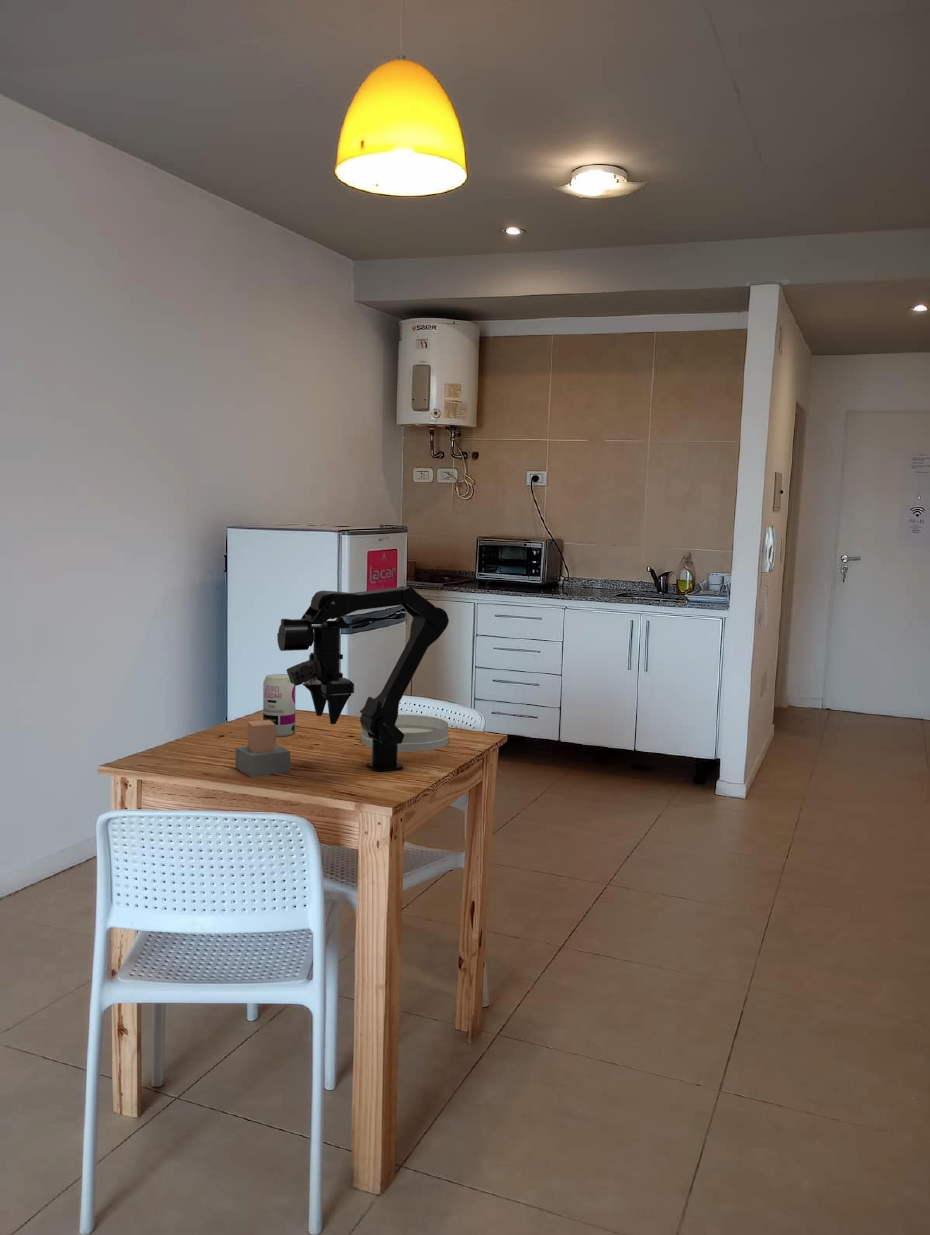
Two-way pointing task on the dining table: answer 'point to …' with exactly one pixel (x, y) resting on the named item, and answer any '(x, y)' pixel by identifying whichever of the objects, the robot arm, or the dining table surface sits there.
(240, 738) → the dining table surface
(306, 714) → the dining table surface
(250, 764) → the grey base block
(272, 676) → the supplement can
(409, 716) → the dish
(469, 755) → the dining table surface
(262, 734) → the terracotta block
